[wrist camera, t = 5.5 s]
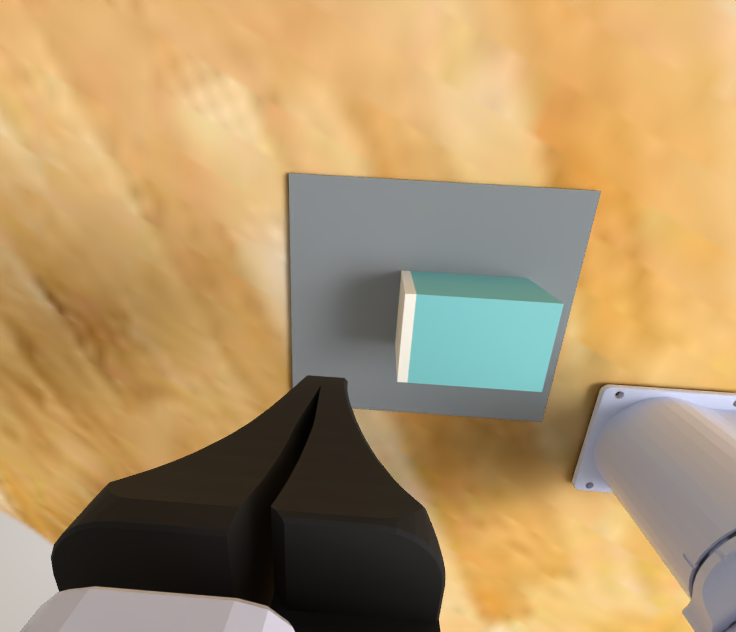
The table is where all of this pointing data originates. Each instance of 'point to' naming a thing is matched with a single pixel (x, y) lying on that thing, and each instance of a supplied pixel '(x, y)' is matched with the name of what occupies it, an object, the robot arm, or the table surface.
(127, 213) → the table surface
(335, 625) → the robot arm
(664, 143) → the table surface
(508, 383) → the teal block
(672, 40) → the table surface
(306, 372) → the mat
